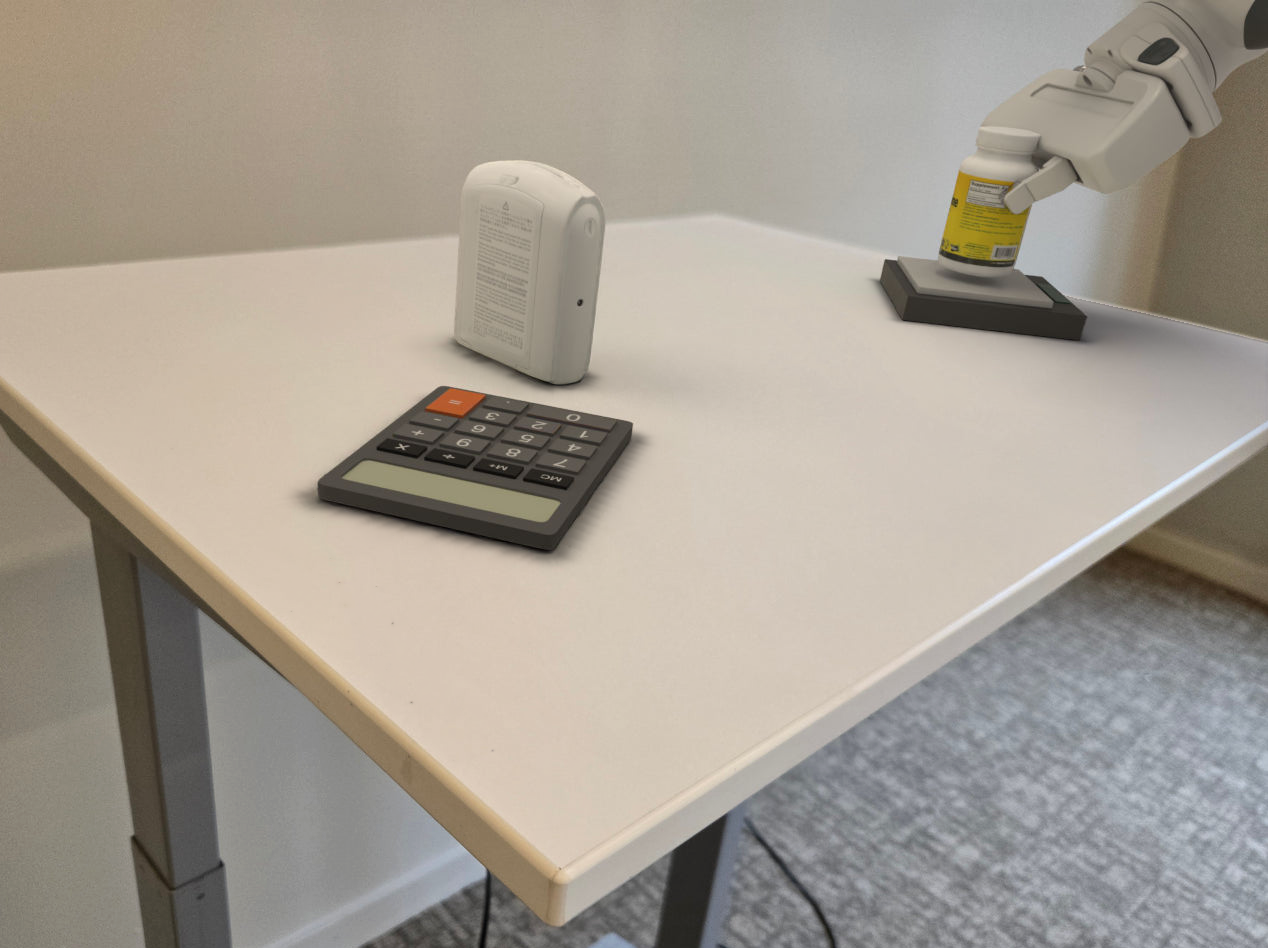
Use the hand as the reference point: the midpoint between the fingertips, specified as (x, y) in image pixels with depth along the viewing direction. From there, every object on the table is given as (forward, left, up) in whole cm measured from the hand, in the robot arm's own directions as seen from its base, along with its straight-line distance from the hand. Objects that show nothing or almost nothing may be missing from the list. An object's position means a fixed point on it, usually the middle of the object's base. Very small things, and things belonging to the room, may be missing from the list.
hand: (985, 197), depth 88 cm
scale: (-1, 0, -9) cm, 9 cm away
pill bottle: (-1, 0, -6) cm, 6 cm away
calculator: (+33, +45, -9) cm, 56 cm away
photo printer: (+34, +28, -9) cm, 45 cm away
